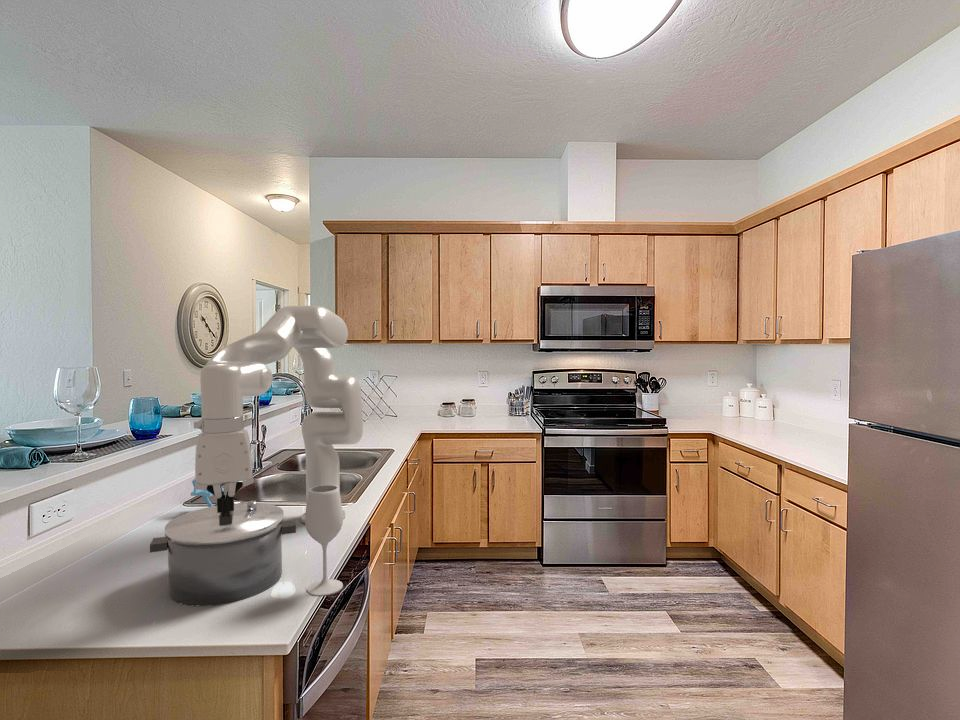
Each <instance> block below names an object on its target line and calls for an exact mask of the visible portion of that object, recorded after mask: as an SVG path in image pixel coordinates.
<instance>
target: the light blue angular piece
mask: <svg viewBox="0 0 960 720" xmlns="http://www.w3.org/2000/svg"><path fill="white" fill-rule="evenodd" d="M191 483H192V486H193V491H192V492H190V496H192V497H196V496H201V497H202V498H203V500H204V501H205V503H206V505H207V506H208V507H213V506H214V505H213V503H212V502H211V501H210V499H209V497H212V496H214V495H213V494H211V493H210V492H209V491H207V490H197V489H195V484H196V477H195V478H193V479H192V480H191ZM222 491H223V492H224V487H222Z"/></svg>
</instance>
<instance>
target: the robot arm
mask: <svg viewBox="0 0 960 720" xmlns="http://www.w3.org/2000/svg"><path fill="white" fill-rule="evenodd" d="M348 336H349V330H348V325H347V324H346V323H345V320H344V319H342V317H340V316H339V315H337V314H336V313H334V312H333V311H331V310H330V309H328V308H327V307H324V306H319V305H288V306H284V307H281V308H279V309H278V310H277V311H276V312H275V313H273V315H271V317H270V318H269V319H268V321H266V323H265V324H264V325H263V326H262V327H261V328H260V329H258V331H257V332H255V333H252V334H250V335H247V336H245V337H242V338H241V339H238V340H236V341H234V342H231V343H229V344H227V345H226V346H223V348H221V349H219V350H218V351H217V352H216V353H215V354H213V356H212V357H211V358H210V359H209V360H208V361H207V363H205V365H204V366H203V367H202V368H201V370H200V379H199V382H200V404H201V405H200V407H201V419H200V420H197V421H193V429H199V430H200V431H201V432H200V433H199V434H197V440H196V443H195V445H196V446H195V458H194V459H195V460H194V462H195V463H194V466H195V467H194V469H195V470H194V471H195V472H194V473H195V475H194V476H195V478H196V484H195V489H197V490H207V491H209V492H210V493H211V494H213V495H212V496H213V497H215V498H216V503H217V512H218V513H220V512H221V518H223V517H225V515H226V516H227V517H230V513H231V511H234V501H235V498H234V497H235V495H236V493H237V492H239V490H241V488H243V487H246V486H249V485H252V484H254V476H253V463H252V462H253V461H252V449H251V441H250V436H249V432H248V430H247V429H244V428H245V427H244V402H243V401H244V399H243V398H244V397H249V398H250V397H259V396H262V395H264V394H266V393H267V392H268V391H269V390H270V388H272V385H273V379H274V378H273V377H274V376H273V373H272V372H273V371H271V368H270V367H269V366H268V365H269V364H272V363H275V362H278V361H281V360H283V359H285V358H286V357H287V356H288V354H289V353H290V352H291V350H292V349H293V348H294V350H296V352H297V353H298V355H299V357H300V360H301V361H302V367H303V368H302V369H303V382H304V385H303V386H304V396H305V401H306V403H307V405H308V407H309V406H310V407H312V408H316V409H318V408H319V409H341V411H314V412H311V413H308V414H307V415H305V417H304V418H303V420H302V422H301V435H302V438H303V445H304V451H305V486H306V487H305V489H306V491H305V494H306V496H305V497H306V502H305V503H306V505H307V498H308V493H309V489H310V488H312V487H315V486H320V485H335V486H338V488H339V492H340V493H341V491H340V489H341V487H340V486H341V485H340V483H341V482H340V478H341V477H340V457H339V453H338V452H337V450H336V449H335V447H334V446H333V445H341V446H342V445H345V446H346V445H355V444H358V443H360V441H361V439H362V438H363V433H364V424H363V423H364V421H363V420H364V419H363V400H362V388H361V383H360V382H359V380H358V379H357V378H356V377H354V376H352V375H336V374H335V366H334V358H333V357H334V356H333V355H332V353H331V352H330V350H329V349H338V348H342V347H343V346H344V345H345V344H346V343H347V341H348V338H349V337H348ZM224 484H229V485H228V490H227V492H226V494H225V492H224V491H222V488H223V487H222V485H224ZM342 511H343V519H344V518H346V512H345V510H344V509H342ZM305 513H306V512H304V513H302V514H301V516H300V520H301V522H302V523H303V524H305Z"/></svg>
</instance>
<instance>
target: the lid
mask: <svg viewBox="0 0 960 720" xmlns="http://www.w3.org/2000/svg"><path fill="white" fill-rule="evenodd" d="M282 522H284V509H283V508H281V507H279V506H277V505H274V504H271V503H264V502H257V500H249V501H247V502H244V500H234V511H231V513H230V517H227V516H226V515H225V517H223V518H221V512H220V513H218V512H217V502H216V503H215V504H214V505H213V507H209V506H208V507H203V508H200V509H196V510H193V511H189V512H186V513H184V514H182V515H181V514H180V515H179V516H177V517H175V518H173V519H171V520H170V521H168V523H166V524H165V527H164V537H166V538H167V539H168V540H169V541H171V542H174V543H178V544H185V545H211V544H221V543H228V542H234V541H239V540H243V539H248V538H251V537H255V536H258V535H261V534H264V533H266V532H268V531H271V530H273V529H274V528H276V527H278V526H279V525H280V524H281V523H282Z"/></svg>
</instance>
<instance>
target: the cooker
mask: <svg viewBox="0 0 960 720" xmlns="http://www.w3.org/2000/svg"><path fill="white" fill-rule="evenodd" d="M296 533H297V523H296V520H295V519H293V520H287V521H285V520H283V522H282V523H281V524H280V525H279V526H278V527H276V528H274V529H273V530H271V531H268V532H266V533H264V534H261V535H258V536H255V537H251V538H248V539H243V540H239V541H234V542H228V543H221V544H211V545H185V544H178V543H174V542H171V541H169V540H168V539H167V538H166V537H165V536H161V537H153V538H152V540H151V542H150V543H149V553H150V554H151V553H157V552H164V551H165V552H166V551H167V559H168V560H167V563H168V572H167V573H168V596H169V598H170V597H171V598H170V599H171V600H172V601H173V600H174V601H173V602H175V601H176V602H175V603H177V602H178V604H180V603H182V604H181V605H184V604H186V605H185V606H191V605H193V606H194V607H197V606H196V605H202V606H201V607H204V606H203V605H211V606H219V604H220V605H225V603H226V604H229V603H235V602H239V601H242V600H245V599H249V598H251V597H254V596H257V595H259V594H261V593H263V592H265V591H267V590H269V589H270V588H272V587H273V586H275V585H277V583H278V582H279V581H280V579H281V578H282V576H281V575H282V574H283V560H282V559H283V558H282V557H283V555H282V553H283V551H282V549H283V548H282V535H288V534H289V535H290V534H296Z"/></svg>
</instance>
